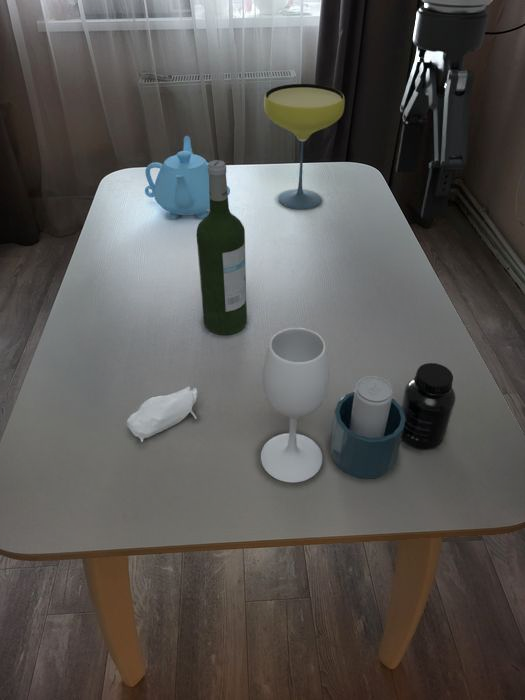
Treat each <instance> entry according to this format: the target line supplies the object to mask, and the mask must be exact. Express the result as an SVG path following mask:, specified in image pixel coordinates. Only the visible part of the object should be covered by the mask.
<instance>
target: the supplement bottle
mask: <svg viewBox="0 0 525 700" xmlns="http://www.w3.org/2000/svg"><path fill="white" fill-rule="evenodd" d="M453 382H454V375H453V373H452V371H451V370H450V369H449V368H448V367H447V366H445V365H442V364H440V363H435V362H426V363H424V364H420V366H418V368H417V369H416V373H415V376H414V377H413V378H412V379H411V380H409V381H408V382H407V384H406V386H405V388H404V392H403V397H402V400H401V401H402V402H401V405H400V406H401V407H402V408H403V411H404V414H405V418H406V420H405V425H404V429H403V433H402V437H401V441H403V442H404V443H405V444H406V445H408V446H410V447H411V448H414V449H418V450H431V449H435V448H437V447H438V446H439V445H441V443H443V441H444V439H445V436H446V433H447V430H448V426H449V423H450V420H451V418H452V417H451V416H452V413H453V411H454V410H453V409H454V406H455V403H456V393H455V390H454V388H453Z"/></svg>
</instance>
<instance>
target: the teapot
mask: <svg viewBox="0 0 525 700" xmlns="http://www.w3.org/2000/svg"><path fill="white" fill-rule="evenodd" d="M191 143H192V142H191V137H190V136H189V135H185V136H184V137H183V147H182V149H183V150H181V151H178V152H177V153H176V154H175V155H172V156H169V157H168V158H166V159H165V160H164V162H163V163H161V162H152V163H150V164H148V165H147V166H146V168H145V170H144V171H145V178H146V180H147V183H148V185H146V186H145V188H144V194H145V195H146V196H147V197H148V198H154V200H155V201H156V203H157V204H158V205H159V206H160V207H161V208H162V209H163V210H164V211H166V212H168V216H167V217H168V218H169V219H172V220H175V219H178V218H180V217H181V216H194V215H196V218H199V219H203V218H204V217H205V216H206V215H208V214H209V211H210V197H209V173H208V165H209V162H208V161H207V160H206V159H205V158H204V157H203V156H201V155H198V154H195V153H194V152H193V149H192V144H191ZM154 168H155V169H159V171H158V173H157V176H156V178H155V182H154V180H153V178H152V175H151V169H154ZM150 190H151V191H150ZM227 192H228V196H229V195H230V193H231V188H230V187H229V186H228V185H227Z"/></svg>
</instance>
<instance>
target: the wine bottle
mask: <svg viewBox="0 0 525 700" xmlns="http://www.w3.org/2000/svg"><path fill="white" fill-rule="evenodd" d="M208 163H209V165H208V173H209V197H210V209H209V210H208V215H206V216H205V217H204V218H201V220H200V221H199V223H198V225H197V227H196V235H195V236H196V248H197V258H198V270H199V282H200V292H201V294H200V295H201V305H202V314H203V315H202V316H203V324H204V327H205V328H206V329H207V330H208V331H209V332H211V333H213V334H215V335H218V336H219V335H220V336H230V335H235V334H236V333H239V332H241V331H242V330H243V329H244V328H245V327H246V325H247V323H248V310H247V306H248V305H247V269H246V265H247V264H246V232H245V231H246V230H245V226H244V224H243V223H242V222H241V220H240V219H239V218H238V217H237V216H236V215H234V214H233V213H232V212H231V210H230V205H229V195H228V192H227V186H228V183H227V165H226V162H225V161H223V160H222V159H221V160H219V159H214V160H211V161H209V162H208Z"/></svg>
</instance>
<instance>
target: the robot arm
mask: <svg viewBox="0 0 525 700" xmlns="http://www.w3.org/2000/svg"><path fill="white" fill-rule="evenodd" d="M493 1H494V0H421V2H422V3H424V4H423V5H421V6H419V8H418V9H417V11H416V16H415V23H414V28H413V29H414V30H413V36H412V42H413V45H414V46H416V53H415V58H414V62H413V65H412V67H411V72H410V74H409V77H408V81H407V83H406V87H405V91H404V94H403V97H402V100H401V104H400V106H399V110H400V113H402V121H403V122H404V123H402V130H401V135H400V142H399V147H398V154H397V160H396V166H395V172H396V173H397V174H399V173H417V168H418V165H419V164H418V163H419V157H420V152H421V148H422V142H423V138H424V137H423V136H424V131H425V126H426V125H425V123H423V122H428V121H429V120H428V111H429V109H430V110H432V111H433V112H432V113H433V146H434V147H433V148H434V149H433V150H434V160H431V162H429V163H428V165H427V167H428V169H429V172H428V177H427V182H426V187H425V193H424V197H423V203H422V207H421V212H420V217H421V219H444V218H445V217H446V212H447V207H448V202H449V198H450V194H451V190H452V185H453V182H454V177H455V174H456V173H455V172H456V170H464V169H465V168H466V167H467V160H468V144H469V143H468V142H469V128H470V115H471V114H470V113H471V100H472V99H471V98H472V90H473V86H474V80H475V70H474V69H465V68H464V62H465V57H466V55H467V54H468V53H470V52H475V51H477V50H479V49H481V46H482V45H483V43H484V38H485V36H486V35H485V33H486V30H487V26H488V21H489V18H490V12H489V11H488V9H487V8H486V7H487V6H489V5H490V4H491V3H492V2H493Z"/></svg>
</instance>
